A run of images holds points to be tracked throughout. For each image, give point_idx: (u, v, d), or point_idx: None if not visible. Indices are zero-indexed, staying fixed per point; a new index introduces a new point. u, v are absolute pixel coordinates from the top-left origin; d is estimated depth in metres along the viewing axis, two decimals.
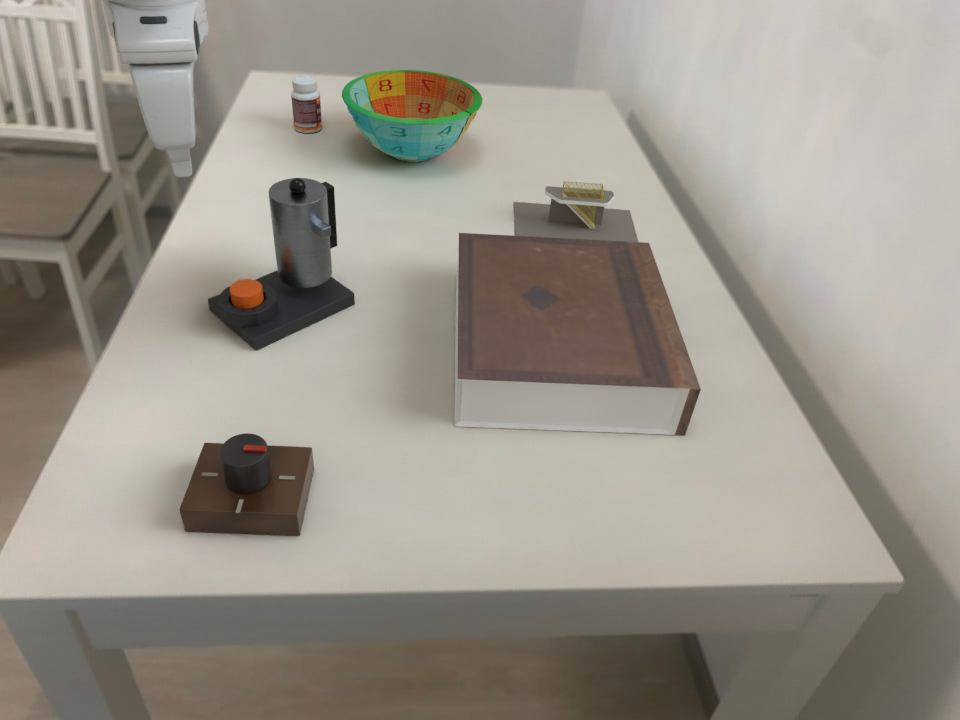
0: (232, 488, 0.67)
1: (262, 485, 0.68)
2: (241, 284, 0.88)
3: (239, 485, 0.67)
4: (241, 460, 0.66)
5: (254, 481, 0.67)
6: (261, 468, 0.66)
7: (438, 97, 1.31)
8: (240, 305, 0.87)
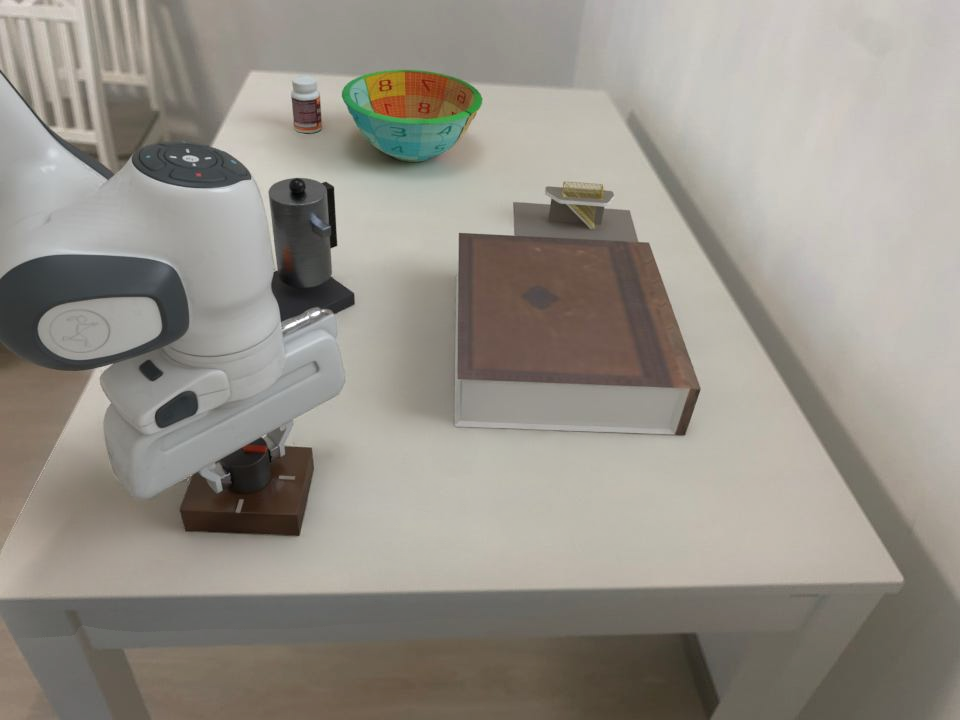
0: (232, 488, 0.67)
1: (262, 485, 0.68)
2: None
3: (239, 485, 0.67)
4: (241, 460, 0.66)
5: (254, 481, 0.67)
6: (261, 468, 0.66)
7: (438, 97, 1.31)
8: None
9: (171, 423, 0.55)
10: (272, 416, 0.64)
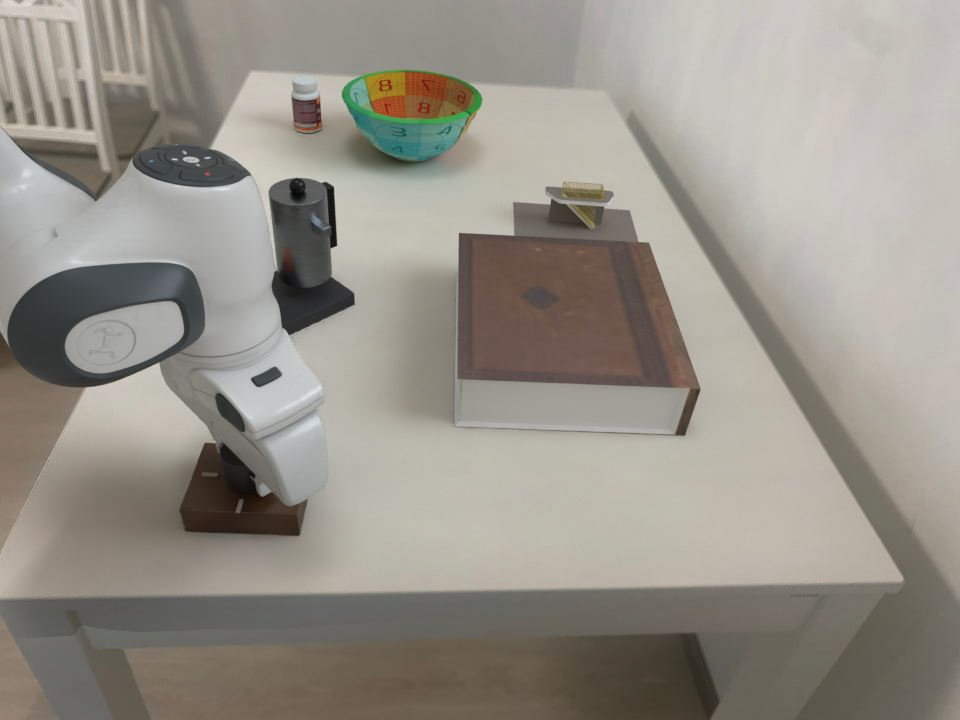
0: None
1: None
2: None
3: None
4: None
5: None
6: None
7: (438, 97, 1.31)
8: None
9: None
10: None
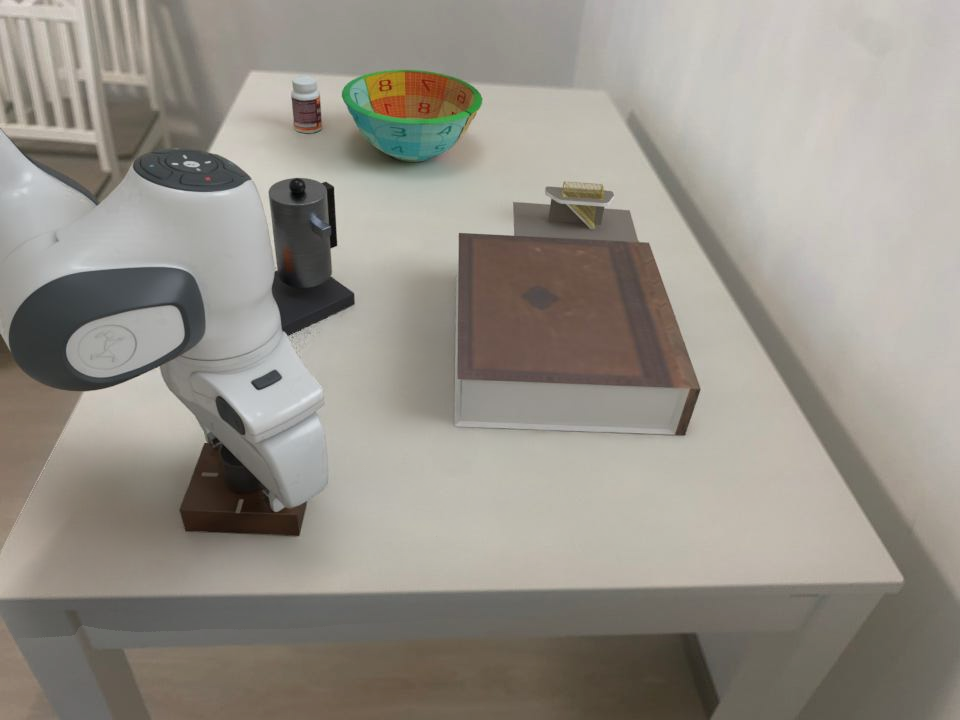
0: None
1: None
2: None
3: None
4: None
5: None
6: None
7: (438, 97, 1.31)
8: None
9: None
10: None
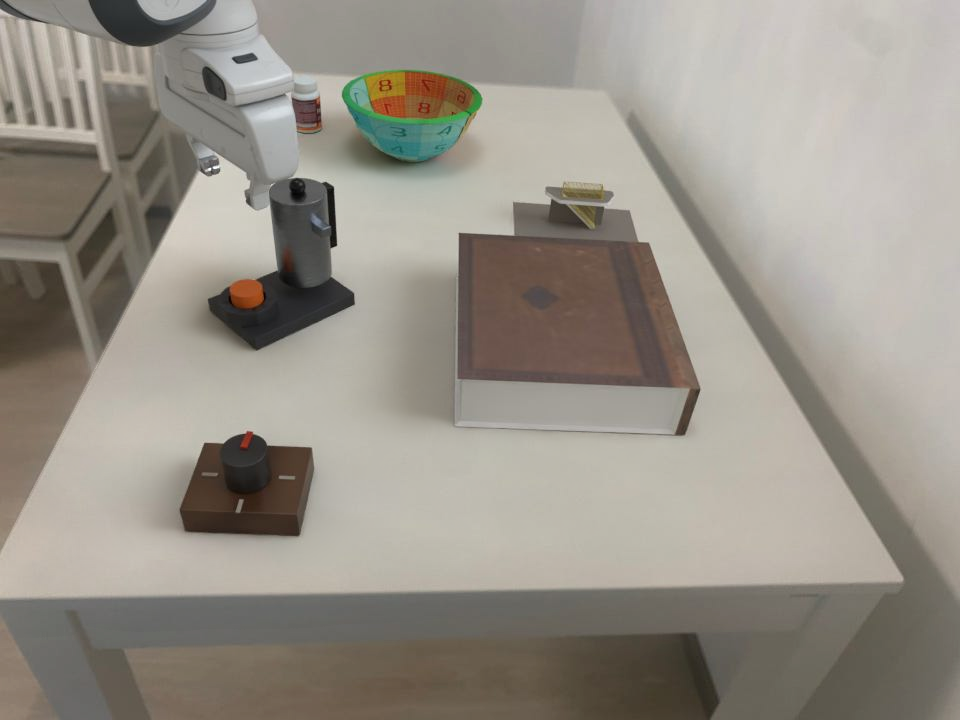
0: (264, 483, 0.68)
1: None
2: (241, 284, 0.88)
3: (268, 472, 0.68)
4: (258, 449, 0.67)
5: (269, 459, 0.69)
6: None
7: (438, 97, 1.31)
8: (240, 305, 0.87)
9: None
10: None
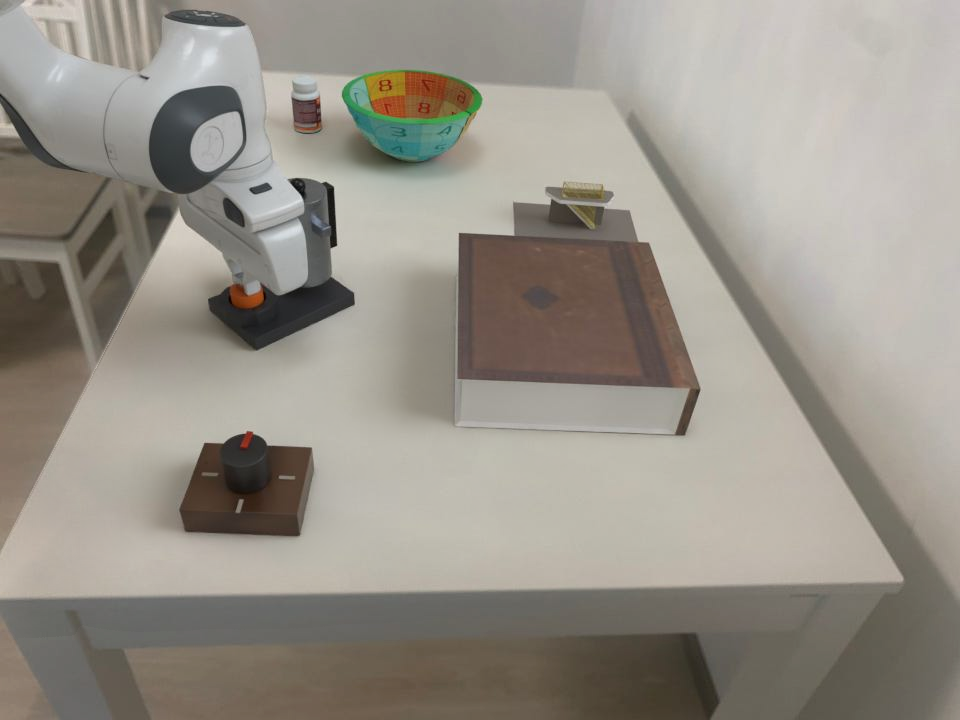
0: (264, 483, 0.68)
1: None
2: None
3: (268, 472, 0.68)
4: (258, 449, 0.67)
5: (269, 459, 0.69)
6: None
7: (438, 97, 1.31)
8: (240, 306, 0.87)
9: None
10: None
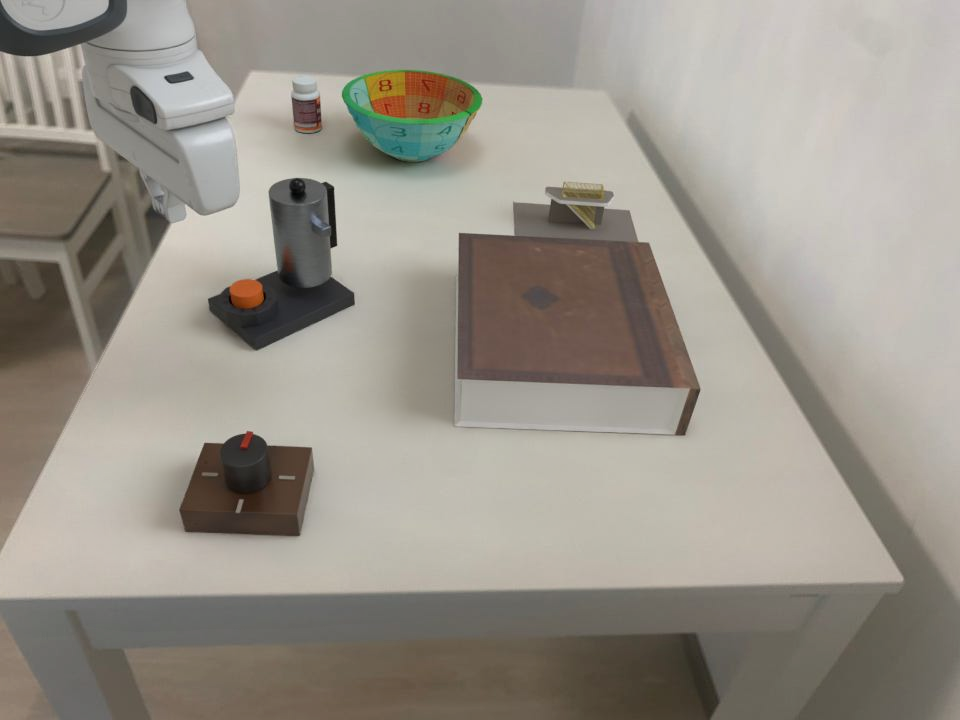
0: (264, 483, 0.68)
1: None
2: (241, 284, 0.88)
3: (268, 472, 0.68)
4: (258, 449, 0.67)
5: (269, 459, 0.69)
6: None
7: (438, 97, 1.31)
8: (240, 305, 0.87)
9: None
10: None
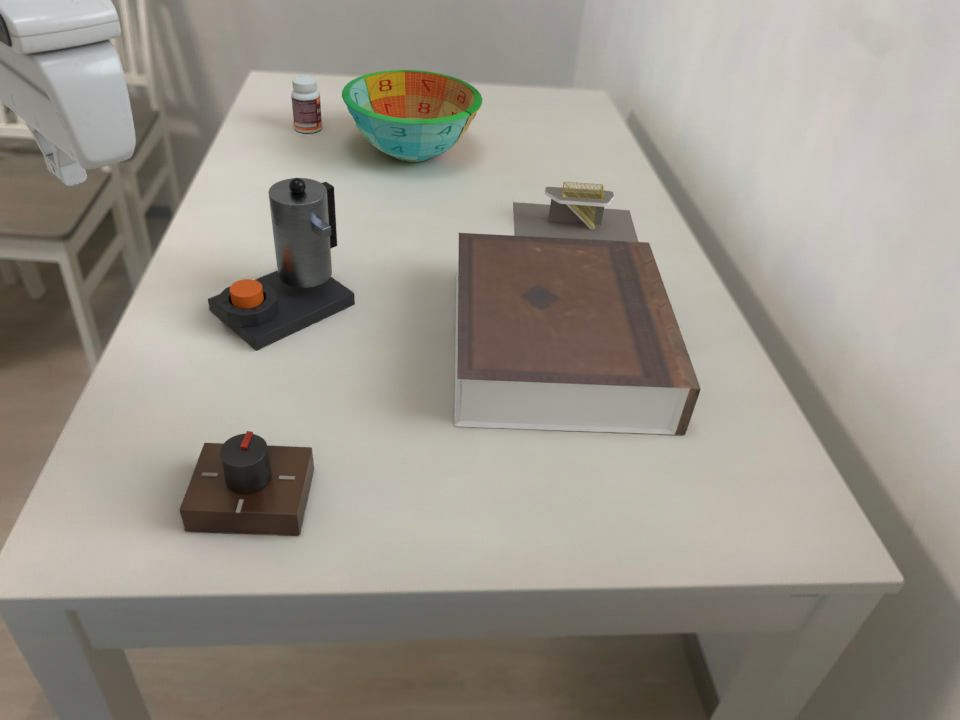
0: (264, 483, 0.68)
1: None
2: (241, 284, 0.88)
3: (268, 472, 0.68)
4: (258, 449, 0.67)
5: (269, 459, 0.69)
6: None
7: (438, 97, 1.31)
8: (240, 305, 0.87)
9: None
10: None
